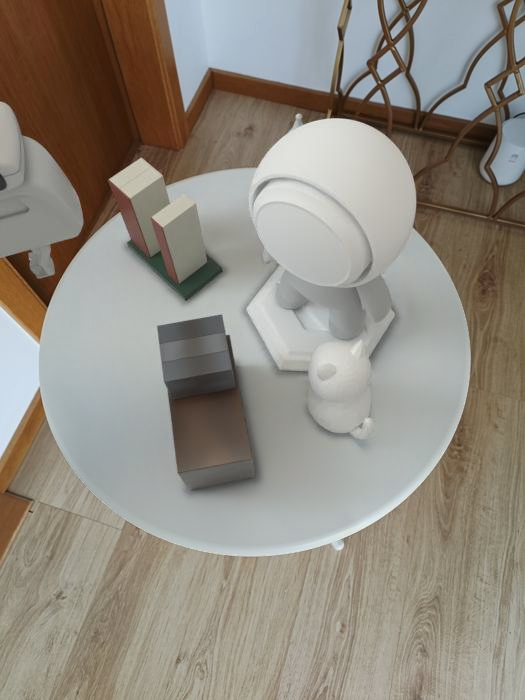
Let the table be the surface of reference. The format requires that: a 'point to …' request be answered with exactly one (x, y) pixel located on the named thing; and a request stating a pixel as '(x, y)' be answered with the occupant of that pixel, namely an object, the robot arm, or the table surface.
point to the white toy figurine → (328, 237)
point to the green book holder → (137, 208)
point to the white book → (180, 238)
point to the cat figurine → (341, 388)
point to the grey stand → (205, 403)
